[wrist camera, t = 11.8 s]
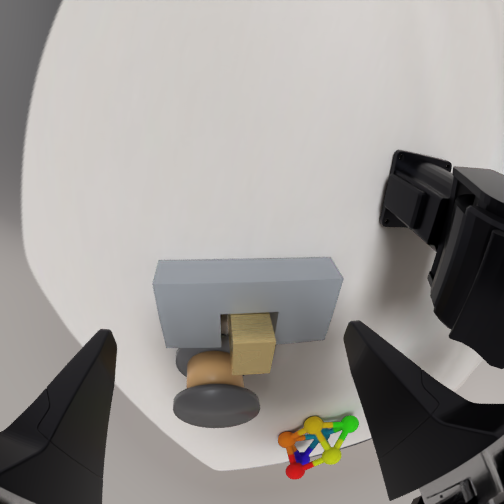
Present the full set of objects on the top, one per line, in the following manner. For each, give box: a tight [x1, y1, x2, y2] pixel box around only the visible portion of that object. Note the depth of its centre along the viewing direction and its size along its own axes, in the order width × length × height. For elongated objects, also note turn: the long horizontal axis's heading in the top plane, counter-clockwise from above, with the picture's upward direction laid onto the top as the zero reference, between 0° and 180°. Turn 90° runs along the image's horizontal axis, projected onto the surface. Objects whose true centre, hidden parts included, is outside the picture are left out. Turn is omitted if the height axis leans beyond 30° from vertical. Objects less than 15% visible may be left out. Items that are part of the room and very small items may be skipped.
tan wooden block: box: [227, 312, 276, 375], centre depth 23 cm, size 3×4×6 cm
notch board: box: [153, 257, 344, 348], centre depth 23 cm, size 14×7×3 cm, turn 87°
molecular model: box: [278, 415, 359, 479], centre depth 40 cm, size 11×10×15 cm
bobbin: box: [173, 334, 260, 428], centre depth 26 cm, size 8×8×7 cm
